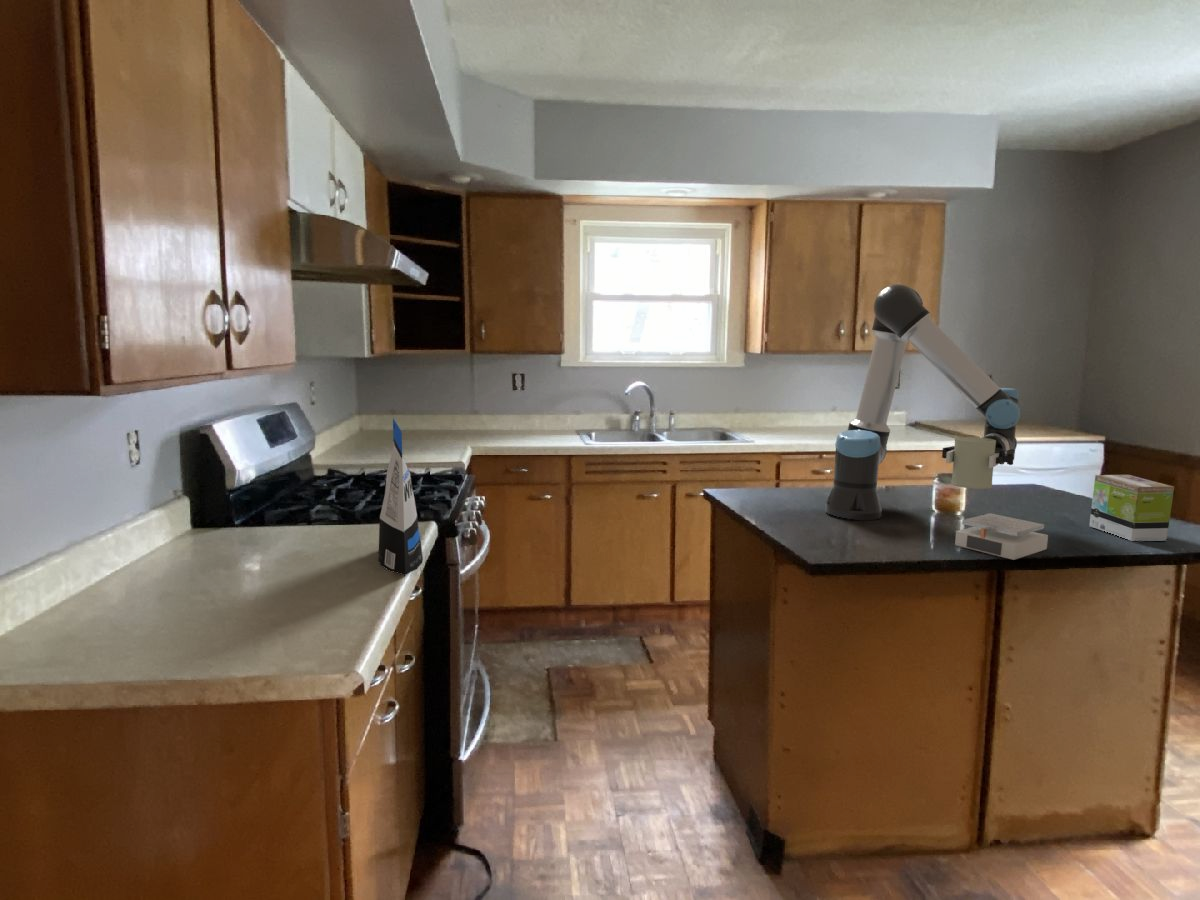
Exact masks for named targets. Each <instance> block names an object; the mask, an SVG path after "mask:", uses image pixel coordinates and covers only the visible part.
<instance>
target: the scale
mask: <svg viewBox="0 0 1200 900" xmlns="http://www.w3.org/2000/svg"><path fill="white" fill-rule="evenodd" d="M980 534H981V528H978V527H973V526H970V527H968V528H964V529H959V530H956V531H955V541H954V546H957V547H961V548H965V549H969V550H974V551H977V552H981V553H985V554H989V555H992V556H997V557H1002V558H1004V559H1009V560H1013V561H1014V560H1019V559H1021V558H1024V557H1027V556H1031V555H1034V554H1036V553H1039V552H1042V551H1045V550H1047V548H1048V539H1049V535H1048V534H1045V533H1039V532H1037V531H1034V532H1030V533H1027V534H1024V535H1020V536H1013V535H1009V534H1004V533H1000V532H995V531H991V530H990V531H986V535H985V538H980Z"/></svg>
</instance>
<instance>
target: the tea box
mask: <svg viewBox="0 0 1200 900" xmlns="http://www.w3.org/2000/svg"><path fill="white" fill-rule="evenodd" d="M1174 491H1175V486H1174V485H1173V486H1172V485H1169V484H1165V483H1162V482H1158V481H1153V480H1150V479H1146V478H1142V477H1139V476H1135V475H1131V474H1103V475H1102V474H1101V475H1100V474H1099V475H1098V474H1095V476H1094V482H1093V493H1092V501H1091V509H1090V517H1089V528H1094V529H1097V530H1099V531H1102V532H1104V531H1105V532H1104V533H1107V532H1108V534H1109V533H1111V534H1110V535H1112V534H1114V535H1113V536H1115V535H1117V536H1119V537H1118V538H1120V537H1122V538H1125V539H1128V540H1131V541H1135V540H1136V541H1137V540H1161V539H1168V532H1169V526H1170V518H1171V511H1172V508H1173V507H1172V506H1173V500H1174ZM1117 536H1116V537H1117ZM1122 538H1121V539H1122ZM1125 539H1124V540H1125Z"/></svg>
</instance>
